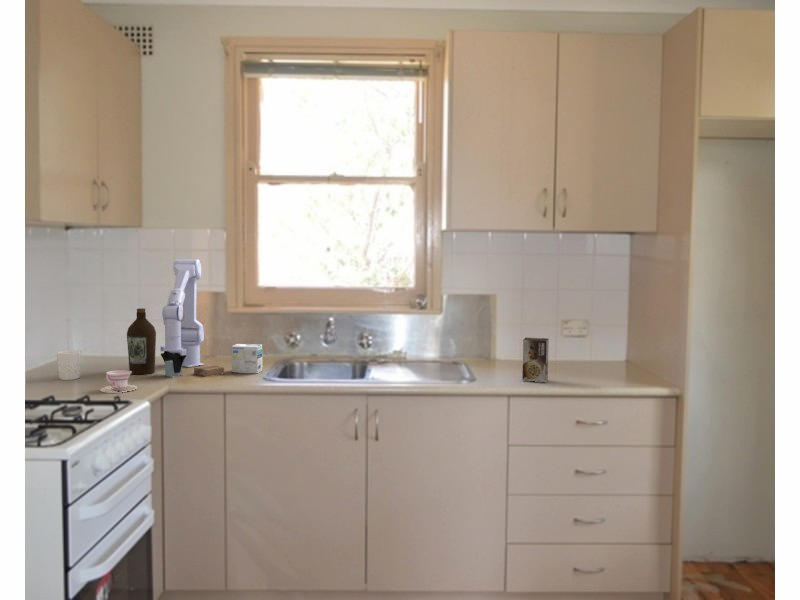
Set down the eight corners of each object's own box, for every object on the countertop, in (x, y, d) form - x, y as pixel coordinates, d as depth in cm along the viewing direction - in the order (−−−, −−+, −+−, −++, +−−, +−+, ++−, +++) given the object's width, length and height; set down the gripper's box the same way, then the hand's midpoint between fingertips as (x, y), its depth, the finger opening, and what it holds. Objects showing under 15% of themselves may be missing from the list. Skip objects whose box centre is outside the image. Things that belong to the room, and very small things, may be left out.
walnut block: (194, 375, 272) (193, 367, 271) (211, 372, 278) (211, 364, 278) (206, 377, 267) (206, 370, 266) (223, 374, 273) (223, 367, 272)
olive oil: (135, 369, 279) (133, 307, 277) (161, 370, 278) (159, 307, 276) (122, 374, 268) (121, 309, 266) (149, 375, 268) (148, 310, 266)
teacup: (144, 387, 247) (143, 370, 247) (125, 394, 236) (125, 376, 235) (113, 385, 249) (112, 368, 249) (92, 392, 238) (92, 374, 237)
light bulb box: (263, 370, 280) (262, 344, 280) (257, 373, 274) (257, 346, 273) (237, 369, 282) (236, 343, 281) (231, 373, 275) (231, 345, 274)
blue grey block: (165, 375, 268) (164, 361, 267) (175, 374, 271) (175, 359, 271) (171, 377, 265) (171, 362, 265) (182, 375, 268) (182, 361, 268)
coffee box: (548, 380, 268) (549, 338, 267) (545, 383, 262) (547, 340, 261) (524, 378, 271) (525, 336, 270) (521, 381, 265) (522, 339, 264)
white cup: (76, 375, 266) (75, 349, 265) (84, 378, 261) (83, 351, 260) (54, 378, 261) (53, 351, 260) (62, 381, 255) (61, 354, 254)
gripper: (153, 335, 268) (153, 370, 270) (174, 339, 259) (175, 375, 260) (169, 334, 274) (170, 368, 275) (191, 337, 265) (191, 373, 266)
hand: (173, 371), depth 268 cm, fingers closed on blue grey block, 4 cm apart
